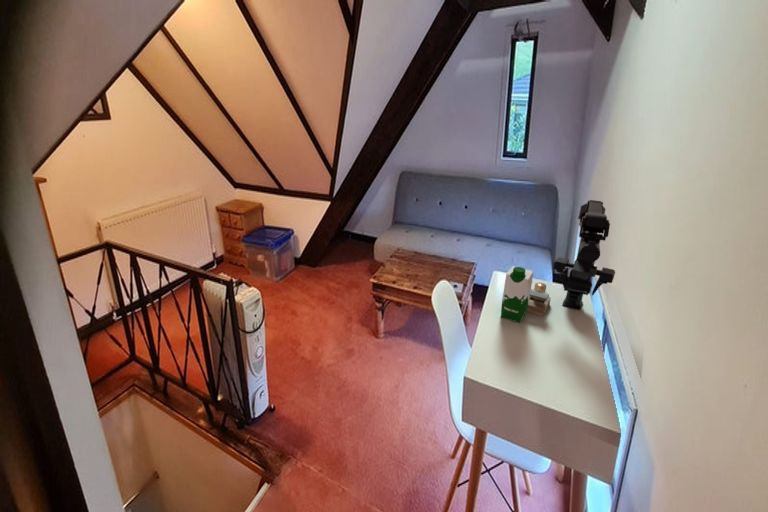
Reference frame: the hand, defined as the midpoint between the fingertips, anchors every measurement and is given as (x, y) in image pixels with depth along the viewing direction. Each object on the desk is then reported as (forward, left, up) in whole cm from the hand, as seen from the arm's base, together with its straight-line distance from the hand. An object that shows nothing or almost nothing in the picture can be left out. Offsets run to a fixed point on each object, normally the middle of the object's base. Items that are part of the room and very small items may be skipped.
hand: (578, 291), depth 138 cm
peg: (-4, -13, -12) cm, 18 cm away
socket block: (-2, -13, -12) cm, 18 cm away
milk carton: (+9, -19, -12) cm, 24 cm away
